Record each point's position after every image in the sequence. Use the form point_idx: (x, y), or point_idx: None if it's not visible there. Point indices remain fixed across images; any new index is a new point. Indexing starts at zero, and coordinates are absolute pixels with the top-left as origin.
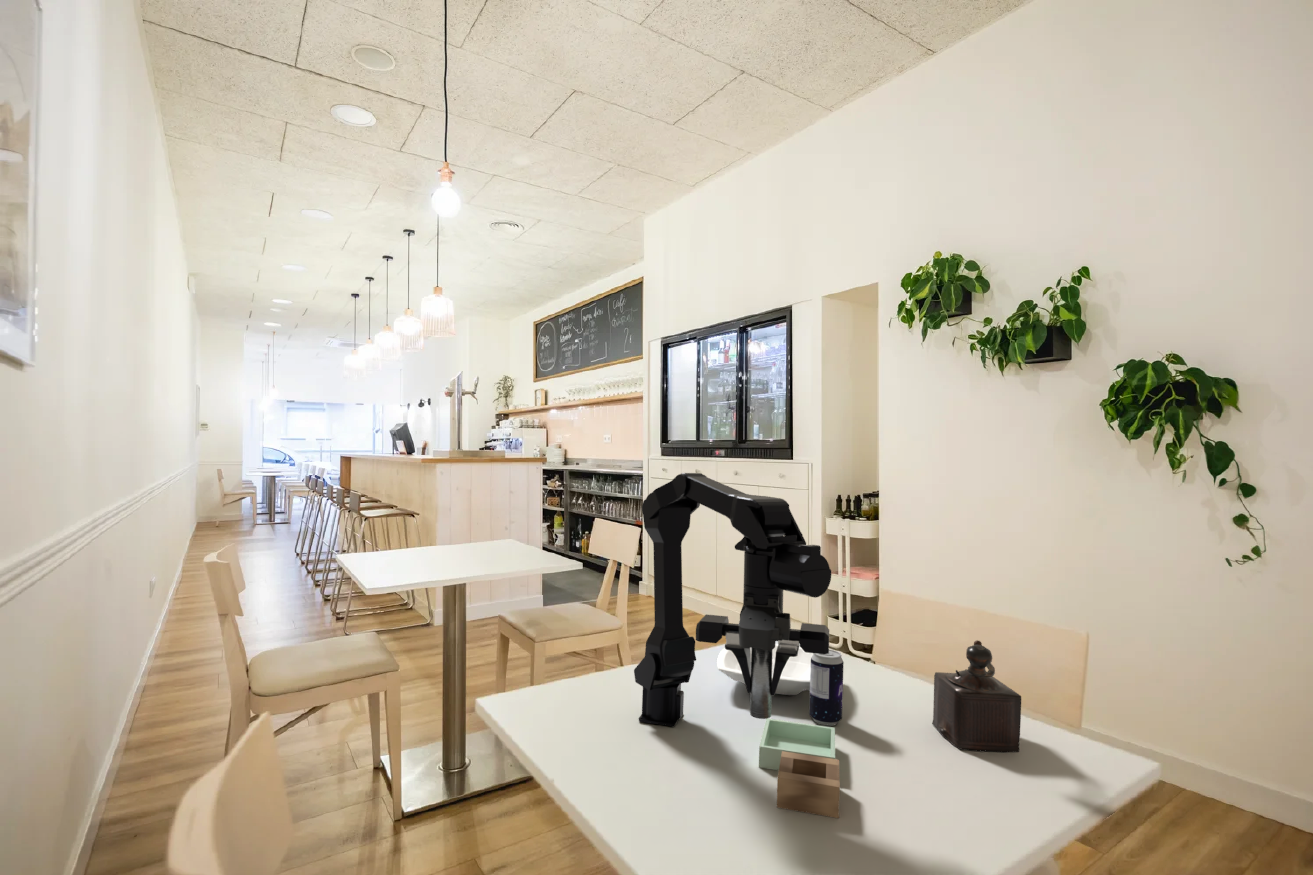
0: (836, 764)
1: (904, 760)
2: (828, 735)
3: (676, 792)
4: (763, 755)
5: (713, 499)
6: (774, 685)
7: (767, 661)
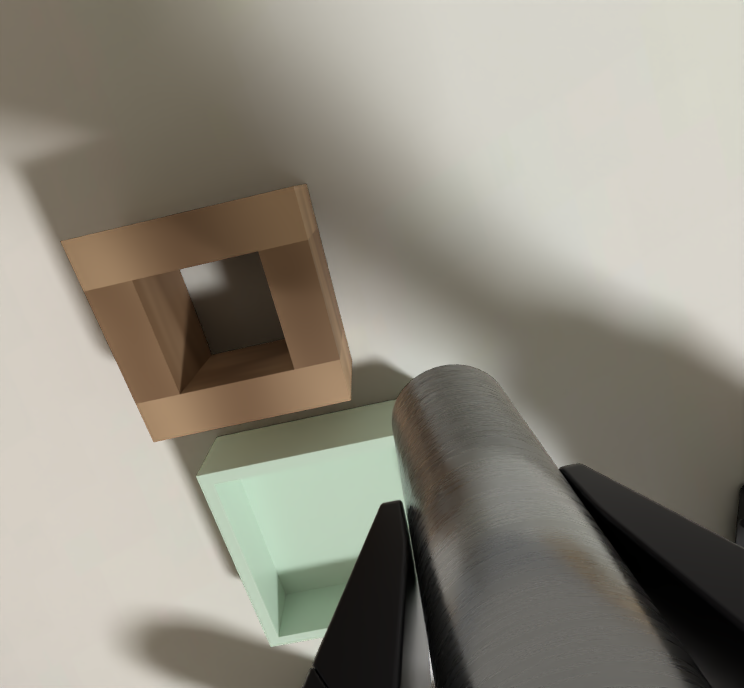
0: (146, 404)
1: (101, 614)
2: (288, 615)
3: (640, 88)
4: None
5: None
6: (380, 555)
7: None
